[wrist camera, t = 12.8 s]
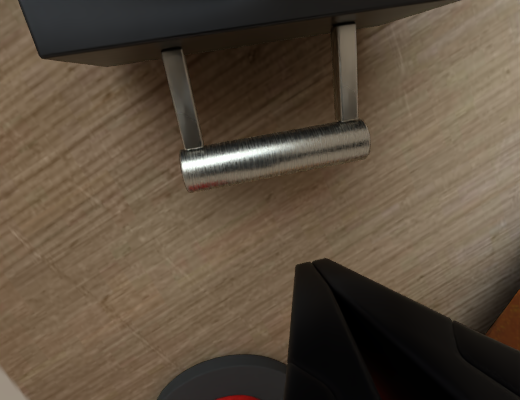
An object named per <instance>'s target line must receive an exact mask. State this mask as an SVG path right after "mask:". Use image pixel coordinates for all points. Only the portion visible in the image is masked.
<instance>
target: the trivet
mask: <svg viewBox="0 0 520 400" xmlns="http://www.w3.org/2000/svg"><path fill="white" fill-rule="evenodd" d="M286 369H287V366H286V365H285V364H283V363H281V362H279V361H277V360H274V359H271V358H267V357H263V356H257V355H230V356H224V357H218V358H215V359H211V360H208V361H205V362H202V363H200V364H197V365H195V366H193V367H191V368H189V369H188V370H186V371H184V372H183V373H181V374H180V375H178V376H177V377H176V378H175V379H173V380H172V381H171V382H170V383H169V384H168V385H167V386H166V387H165V388H164V389H163V391H162V392H161V394H160V395H159V397H158V398H157V400H215V399H218V398H221V397H226V396H232V395H246V396H252V397H255V398H258V399H260V400H283V397H284V389H285V381H286Z"/></svg>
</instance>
